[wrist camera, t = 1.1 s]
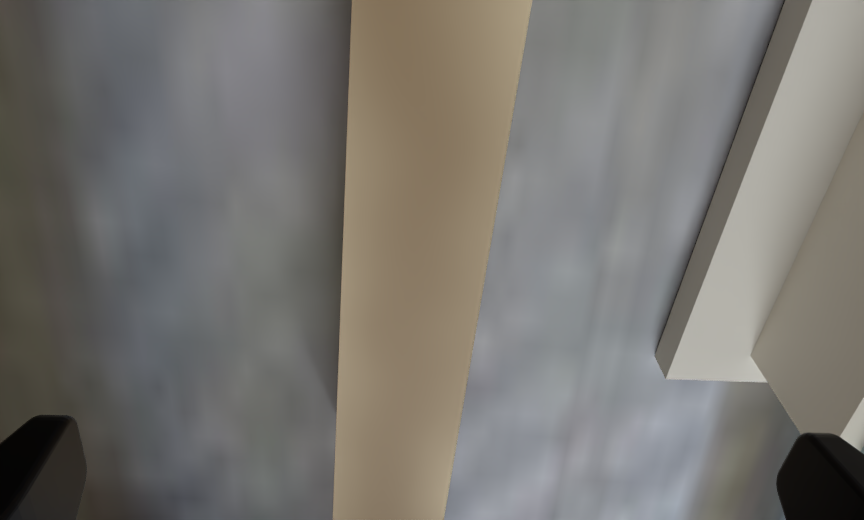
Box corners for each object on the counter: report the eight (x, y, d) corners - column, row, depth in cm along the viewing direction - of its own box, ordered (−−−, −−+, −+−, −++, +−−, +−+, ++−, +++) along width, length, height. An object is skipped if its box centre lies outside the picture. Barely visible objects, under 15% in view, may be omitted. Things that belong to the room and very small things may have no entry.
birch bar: (553, -443, 12) (621, -523, 9) (433, 412, 23) (443, 520, 20) (372, -471, 12) (372, -565, 8) (338, 411, 23) (332, 519, 19)
